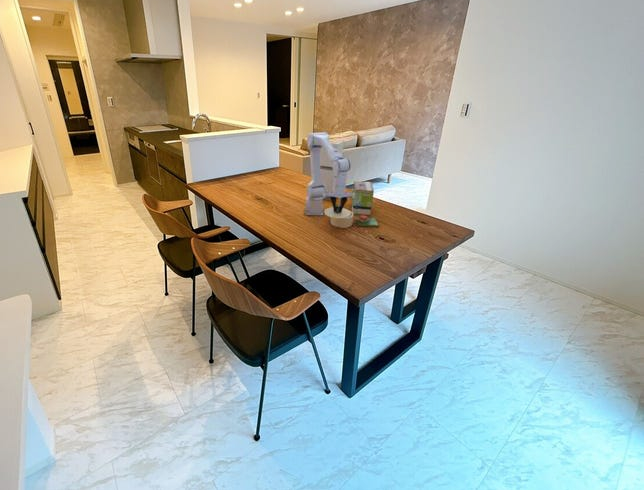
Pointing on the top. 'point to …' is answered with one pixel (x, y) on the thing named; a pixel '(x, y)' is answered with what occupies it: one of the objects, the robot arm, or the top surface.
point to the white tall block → (328, 167)
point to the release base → (366, 222)
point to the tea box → (362, 198)
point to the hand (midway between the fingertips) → (337, 211)
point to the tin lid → (337, 212)
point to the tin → (343, 221)
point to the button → (363, 217)
